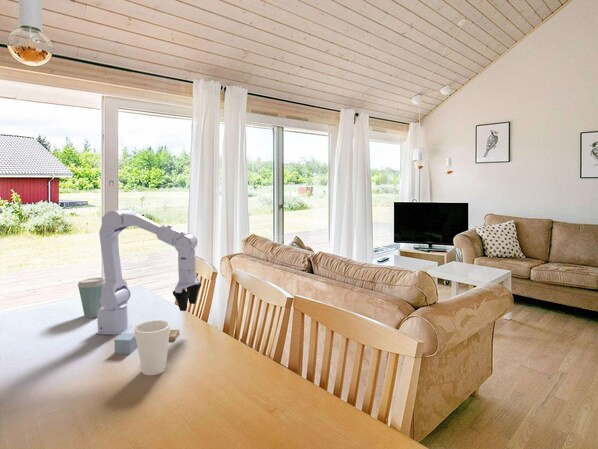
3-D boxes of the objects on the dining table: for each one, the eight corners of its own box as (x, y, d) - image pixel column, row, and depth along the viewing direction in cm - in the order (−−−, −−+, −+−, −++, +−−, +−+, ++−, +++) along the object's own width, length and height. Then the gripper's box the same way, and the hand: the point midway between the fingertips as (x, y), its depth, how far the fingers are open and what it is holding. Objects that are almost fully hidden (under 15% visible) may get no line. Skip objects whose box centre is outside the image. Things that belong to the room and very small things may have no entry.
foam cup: (178, 366, 113) (176, 323, 112) (154, 381, 105) (152, 335, 104) (154, 359, 117) (152, 318, 116) (129, 373, 109) (127, 329, 107)
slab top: (157, 340, 130) (156, 336, 130) (161, 333, 136) (161, 330, 136) (175, 339, 130) (175, 336, 130) (179, 333, 136) (179, 329, 136)
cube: (115, 354, 121) (114, 339, 120) (123, 348, 126) (122, 333, 125) (130, 355, 120) (129, 340, 120) (138, 348, 125) (137, 333, 125)
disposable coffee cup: (72, 318, 152) (70, 281, 150) (94, 309, 162) (92, 274, 161) (94, 321, 149) (92, 283, 147) (115, 312, 159) (113, 276, 158)
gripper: (189, 274, 126) (190, 314, 128) (206, 265, 141) (206, 301, 142) (168, 273, 127) (170, 313, 129) (187, 264, 142) (188, 300, 143)
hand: (188, 307), depth 136 cm, fingers open, 7 cm apart
